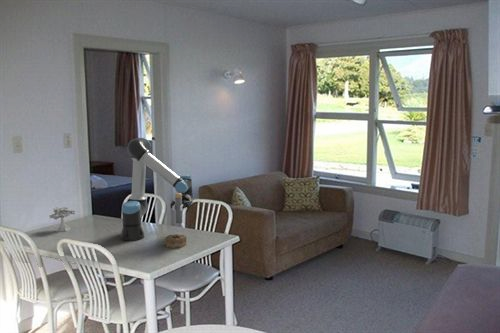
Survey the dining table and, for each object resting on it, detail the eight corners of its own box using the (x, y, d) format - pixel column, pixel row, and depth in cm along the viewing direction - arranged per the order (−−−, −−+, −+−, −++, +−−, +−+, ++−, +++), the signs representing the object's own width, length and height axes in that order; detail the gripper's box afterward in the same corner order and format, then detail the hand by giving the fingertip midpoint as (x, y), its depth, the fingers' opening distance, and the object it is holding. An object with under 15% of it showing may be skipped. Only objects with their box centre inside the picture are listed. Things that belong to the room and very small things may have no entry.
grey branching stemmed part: (51, 234, 328) (49, 210, 326) (47, 229, 342) (45, 206, 340) (78, 231, 337) (77, 207, 335) (74, 226, 351) (72, 203, 349)
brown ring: (163, 243, 304) (163, 235, 303) (182, 241, 309) (182, 233, 308) (169, 248, 293) (168, 240, 292) (188, 246, 298) (187, 238, 297)
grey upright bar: (175, 222, 301) (174, 193, 299) (181, 221, 303) (180, 193, 301) (176, 223, 298) (176, 194, 295) (183, 222, 299) (182, 194, 297)
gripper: (197, 206, 317) (190, 214, 294) (171, 206, 318) (163, 214, 295) (197, 195, 316) (190, 202, 293) (171, 195, 317) (162, 202, 294)
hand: (176, 208), depth 294 cm, fingers closed on grey upright bar, 4 cm apart
